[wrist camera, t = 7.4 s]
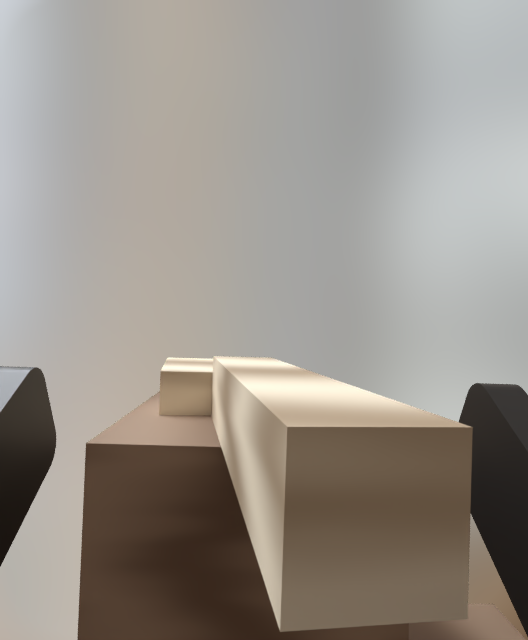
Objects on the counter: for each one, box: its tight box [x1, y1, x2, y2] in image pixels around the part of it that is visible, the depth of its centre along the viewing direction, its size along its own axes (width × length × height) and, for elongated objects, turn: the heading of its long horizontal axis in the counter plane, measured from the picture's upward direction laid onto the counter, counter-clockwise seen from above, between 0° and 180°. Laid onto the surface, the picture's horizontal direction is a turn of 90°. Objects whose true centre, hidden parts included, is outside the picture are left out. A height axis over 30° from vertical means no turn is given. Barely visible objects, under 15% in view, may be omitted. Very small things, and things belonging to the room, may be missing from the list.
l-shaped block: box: [159, 356, 473, 632], centre depth 16 cm, size 21×6×2 cm, turn 9°
